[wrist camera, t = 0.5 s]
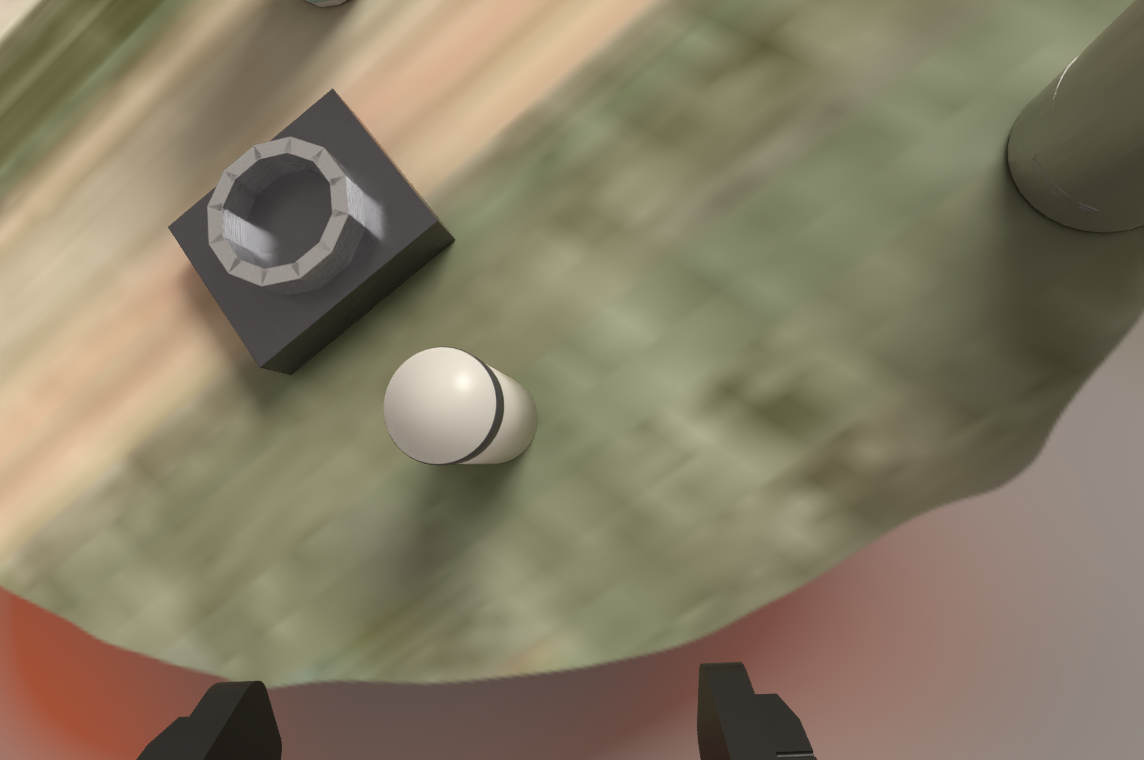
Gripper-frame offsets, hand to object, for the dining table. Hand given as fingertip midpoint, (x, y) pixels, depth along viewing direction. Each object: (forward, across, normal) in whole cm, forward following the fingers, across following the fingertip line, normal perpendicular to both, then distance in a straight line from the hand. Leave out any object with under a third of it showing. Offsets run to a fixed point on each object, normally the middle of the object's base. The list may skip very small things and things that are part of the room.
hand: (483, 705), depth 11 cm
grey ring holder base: (+32, +14, -6) cm, 35 cm away
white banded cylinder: (+24, +3, +5) cm, 25 cm away
